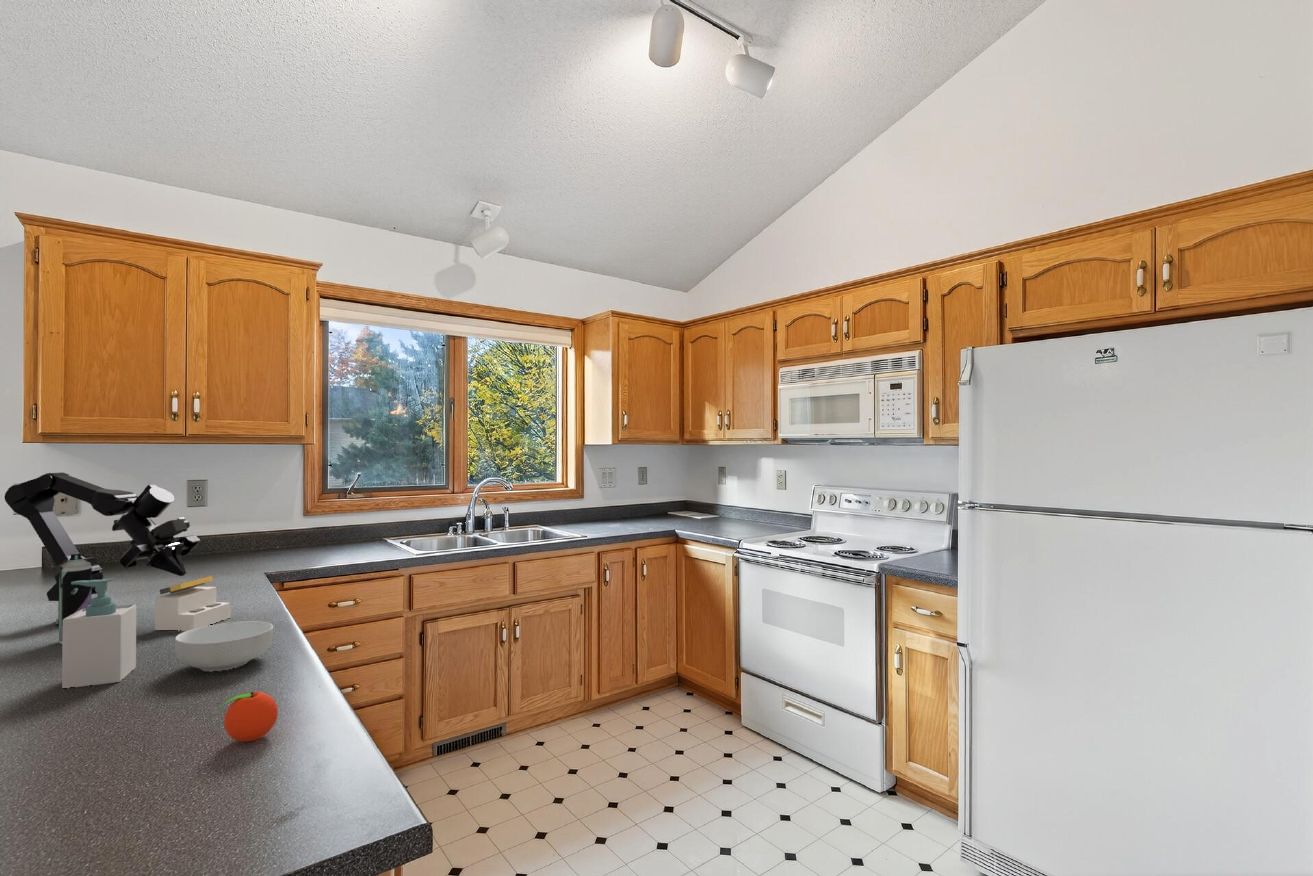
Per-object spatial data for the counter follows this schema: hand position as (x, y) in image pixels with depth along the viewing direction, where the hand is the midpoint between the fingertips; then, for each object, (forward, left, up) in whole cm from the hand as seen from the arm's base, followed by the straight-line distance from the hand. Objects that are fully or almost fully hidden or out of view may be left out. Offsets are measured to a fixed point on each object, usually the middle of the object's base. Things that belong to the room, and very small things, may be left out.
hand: (183, 574), depth 160 cm
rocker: (+1, +1, -4) cm, 4 cm away
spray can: (0, -20, -13) cm, 24 cm away
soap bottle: (+36, -17, -13) cm, 42 cm away
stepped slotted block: (+2, +2, -12) cm, 13 cm away
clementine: (+86, -2, -13) cm, 87 cm away
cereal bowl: (+44, +2, -13) cm, 45 cm away
